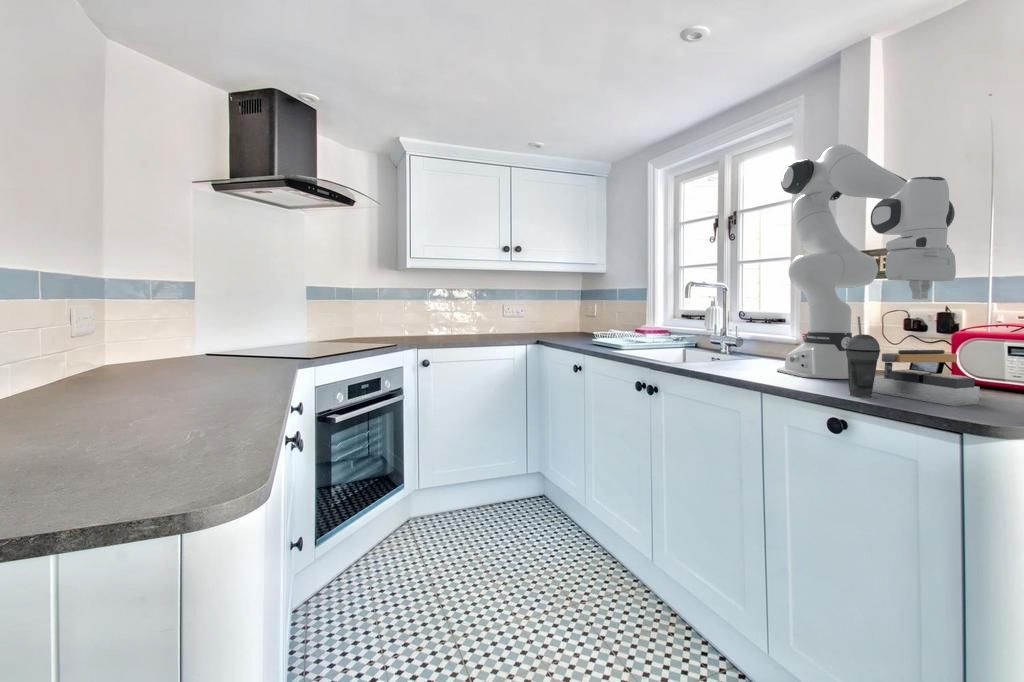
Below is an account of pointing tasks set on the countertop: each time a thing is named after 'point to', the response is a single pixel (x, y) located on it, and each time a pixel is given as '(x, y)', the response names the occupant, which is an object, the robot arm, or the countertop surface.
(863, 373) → the beverage cup
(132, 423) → the countertop surface
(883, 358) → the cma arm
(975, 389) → the stacked block stand
